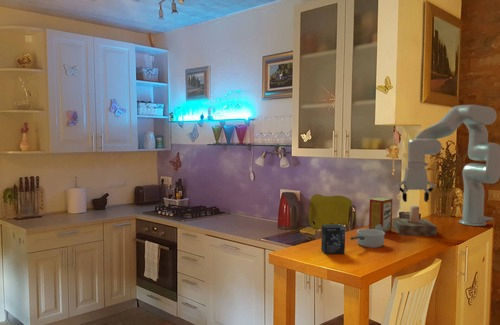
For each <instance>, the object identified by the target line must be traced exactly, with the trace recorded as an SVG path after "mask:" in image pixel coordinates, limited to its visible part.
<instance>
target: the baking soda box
mask: <svg viewBox="0 0 500 325" xmlns="http://www.w3.org/2000/svg"><path fill="white" fill-rule="evenodd" d="M368 210H369V217H368V222H369V223H368V229H374V230H375V226H377V225H378V224H380V225H382V227H384V225H385V223H386V221H387V220H390V221H391V223H390V225H389V227H388V229H385V234H388V233H390V232H392V228H393V227H392V224H393V198H390V197H389V198H386V197H374V198H373V197H372V198H370V199H369V209H368Z"/></svg>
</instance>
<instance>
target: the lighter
mask: <svg viewBox="0 0 500 325" xmlns="http://www.w3.org/2000/svg"><path fill="white" fill-rule="evenodd" d="M390 223H391V221H390V220H387V221H386V223H385V225H384V227H382V225H380V224H378V225H377V226H375V230H380V231H383V232H385V229H388V227H389V225H390ZM385 235H386V233H385V234H384V238H385Z"/></svg>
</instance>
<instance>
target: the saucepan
mask: <svg viewBox="0 0 500 325" xmlns="http://www.w3.org/2000/svg"><path fill="white" fill-rule="evenodd" d="M356 233H357V235H356V236H352V237H350V240H352V241H353V240H357V241H356V242H357V244H358V245H360V246H362V247H365V248H371V249H372V248H373V249H374V248H375V249H376V248H380V247H383V246H384V245H385V237H384V234H385V235H386V233H385V232H383V231H380V230H374V229H369V228H363V229H362V228H361V229H357V230H356Z"/></svg>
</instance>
